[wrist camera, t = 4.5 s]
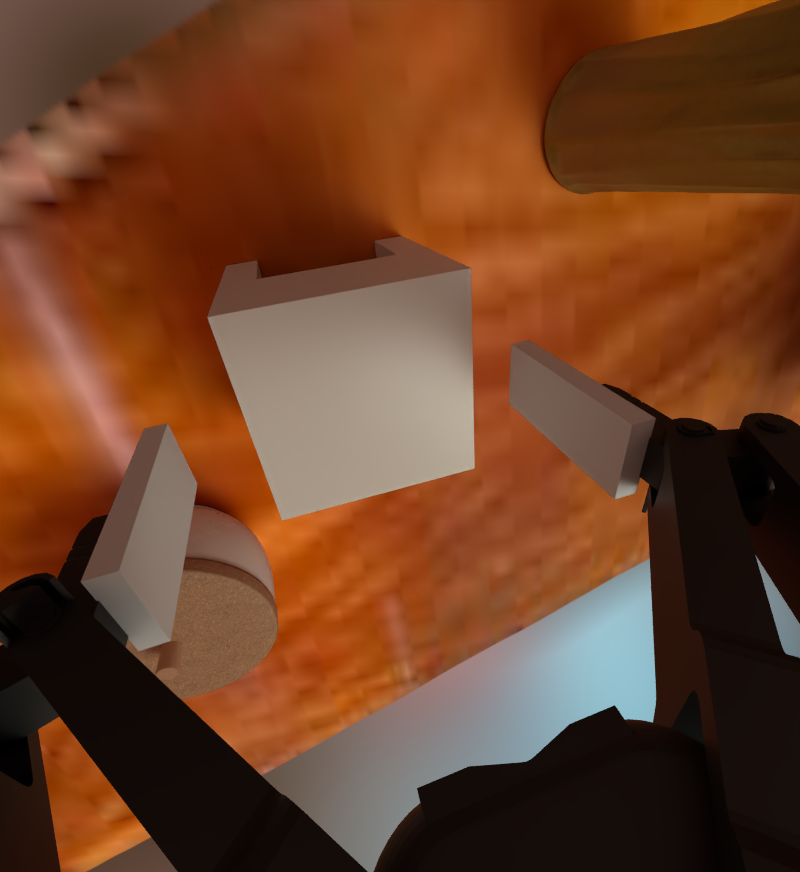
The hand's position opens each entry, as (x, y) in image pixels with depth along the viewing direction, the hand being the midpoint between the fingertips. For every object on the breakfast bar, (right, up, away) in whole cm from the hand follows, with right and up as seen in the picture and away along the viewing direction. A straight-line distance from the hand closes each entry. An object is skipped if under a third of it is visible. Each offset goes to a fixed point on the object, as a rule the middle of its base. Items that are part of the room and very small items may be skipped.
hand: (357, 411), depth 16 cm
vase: (+12, +15, +6) cm, 20 cm away
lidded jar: (-12, -8, +13) cm, 19 cm away
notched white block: (-2, +5, +8) cm, 9 cm away
